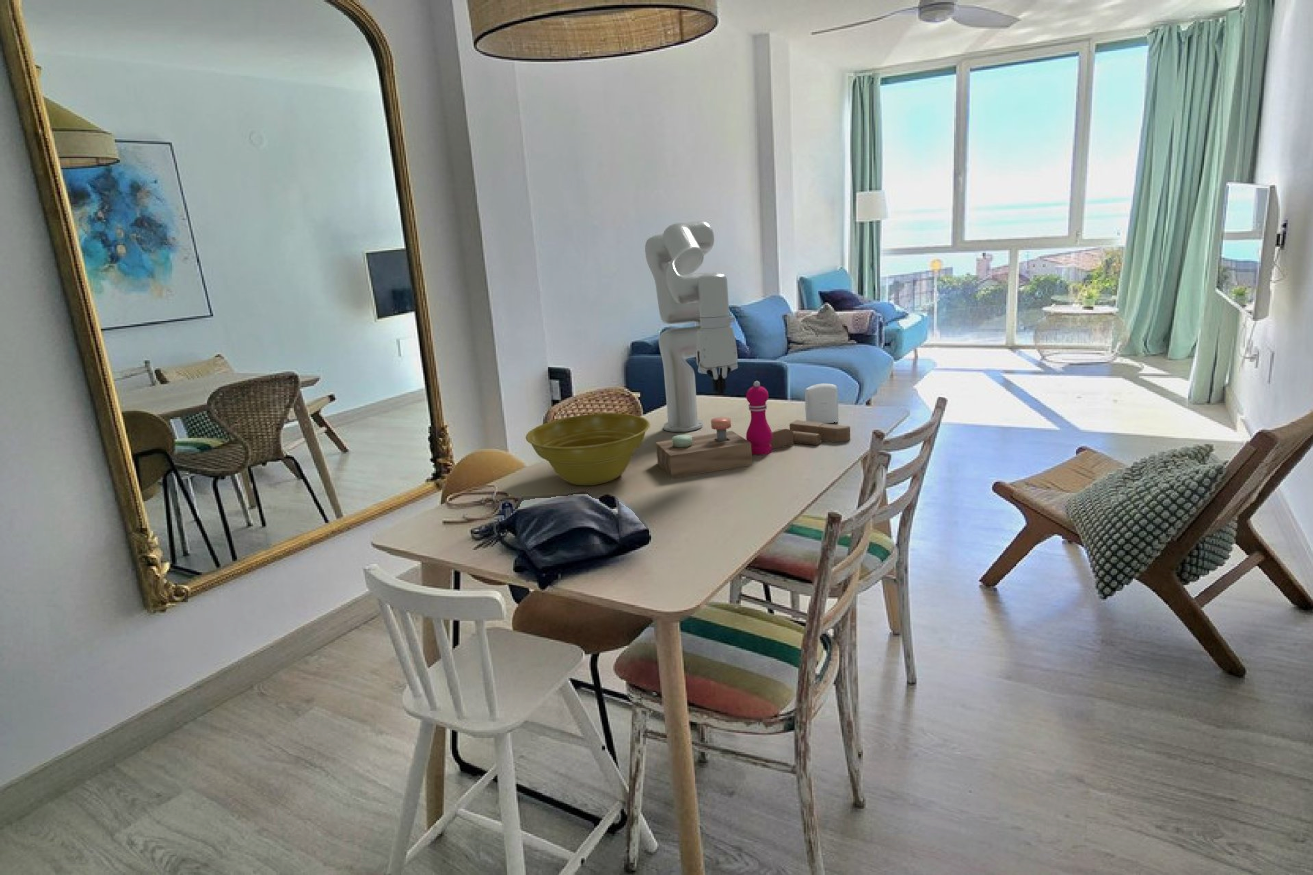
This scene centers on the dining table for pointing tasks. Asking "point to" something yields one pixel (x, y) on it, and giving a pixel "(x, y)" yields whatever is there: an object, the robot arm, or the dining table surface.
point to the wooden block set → (809, 434)
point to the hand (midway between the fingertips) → (719, 393)
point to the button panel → (704, 455)
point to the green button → (682, 441)
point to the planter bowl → (589, 445)
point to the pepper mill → (758, 420)
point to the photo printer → (821, 403)
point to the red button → (721, 427)
